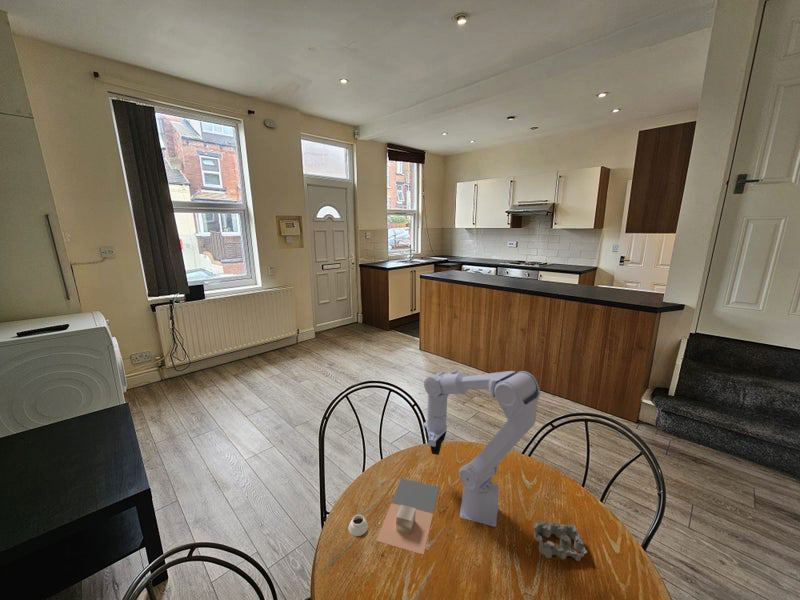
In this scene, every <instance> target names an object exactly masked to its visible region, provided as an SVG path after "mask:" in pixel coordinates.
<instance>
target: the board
mask: <svg viewBox="0 0 800 600" xmlns="http://www.w3.org/2000/svg"><path fill="white" fill-rule="evenodd" d="M439 491H440V486H438V485H433V484H429V483H424V482H419V481H415V480H411V479H406V478H403V477H401V478H400V479H399V483H398V486H397V488H396V490H395V492H394V496H393V498H392V501H391V503H390V505H389V507H388V510H387V513H386V515H385V517H384V521H383V523H382V526H381V527H380V530H379V532H378V535H377V537H376V540H375V541H376V542H379V543H383V544H385V545H389V546H393V547H396V548H399V549H402V550H406V551H410V552H412V553H416V554H419V555H424V554H425V551H426V546H427V542H428V537H429V533H430V530H431V529H430V528H431V525H432V520H433V516H434V511H435V508H436V503H437V498H438V496H439V495H438V494H439ZM401 505H405V506H408V507H412V508H416V510H415V524H414V527H413V530H412V533H411V534H408V533H405V532H401V531H398V530H396V516H397V514H398V511H399V508H400V506H401Z"/></svg>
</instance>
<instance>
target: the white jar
mask: <svg viewBox="0 0 800 600" xmlns="http://www.w3.org/2000/svg"><path fill="white" fill-rule="evenodd" d="M355 520H362V522H361V523H355V522H354V521H355ZM347 528H348V531H349V534H351V535H352V536H354V537H360V536H362V535H364V534H365V533H366V532H368V529H369V524H368V521H367V520H366V518H365V517H364V516H363V515H362V514H356V515H354V516H353V517H352V519H351V520H350V522H349V525H348V527H347Z"/></svg>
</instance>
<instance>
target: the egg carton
mask: <svg viewBox="0 0 800 600" xmlns="http://www.w3.org/2000/svg"><path fill="white" fill-rule="evenodd" d="M533 528H534V535H533V536H534V537H533V538H534V540H535V541H536V542H538V552H539V554H541V555H543V556H545V557H546V559H552V556H554V555H556V556H558V557H559V558H560V559H561V560H566V558H567V557H572V558H573V559H574V560H575V561H577V562H580V561H581V558H584V556H585V554H588V551H587V550H586V548H585V544H584V542H583V540H582V537H581V534H580V532H579V531H578V528H577V526H576V525H575V524H566V525H565V524H563V523H562V524H560V523H559V522H558V523H557V522H556V523H554V522H547V521H544V520H543V521H542V520H538V521H535V523H534V524H533ZM551 535H555V537H557V538H558V539H559V546H558V545H556V544H555V543H554V542H553V541H550V540H547V541H546V542H543V541H544V540H543V537H545V538H547V539H548V538H551ZM542 536H543V537H542ZM572 540H574V541H573V548H574V549H573V548H572Z"/></svg>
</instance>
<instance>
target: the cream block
mask: <svg viewBox="0 0 800 600" xmlns="http://www.w3.org/2000/svg"><path fill="white" fill-rule="evenodd" d="M415 510H416V508H412V507H408V506H405V505H401V506H400V508H399V511H398V514H397V516H396V530H398V531H401V532H405V533H408V534H411V533H412V530H413V527H414V524H415Z"/></svg>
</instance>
